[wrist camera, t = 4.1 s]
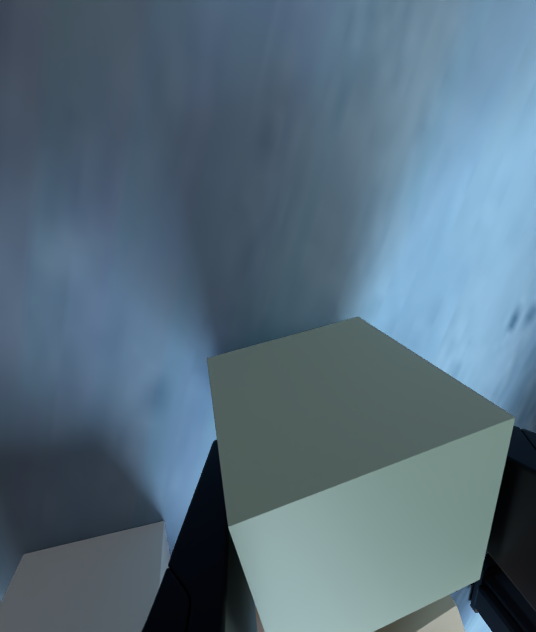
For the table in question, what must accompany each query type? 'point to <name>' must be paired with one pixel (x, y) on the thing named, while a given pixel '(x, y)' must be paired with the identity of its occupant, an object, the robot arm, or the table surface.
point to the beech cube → (429, 619)
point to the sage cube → (353, 476)
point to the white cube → (88, 584)
